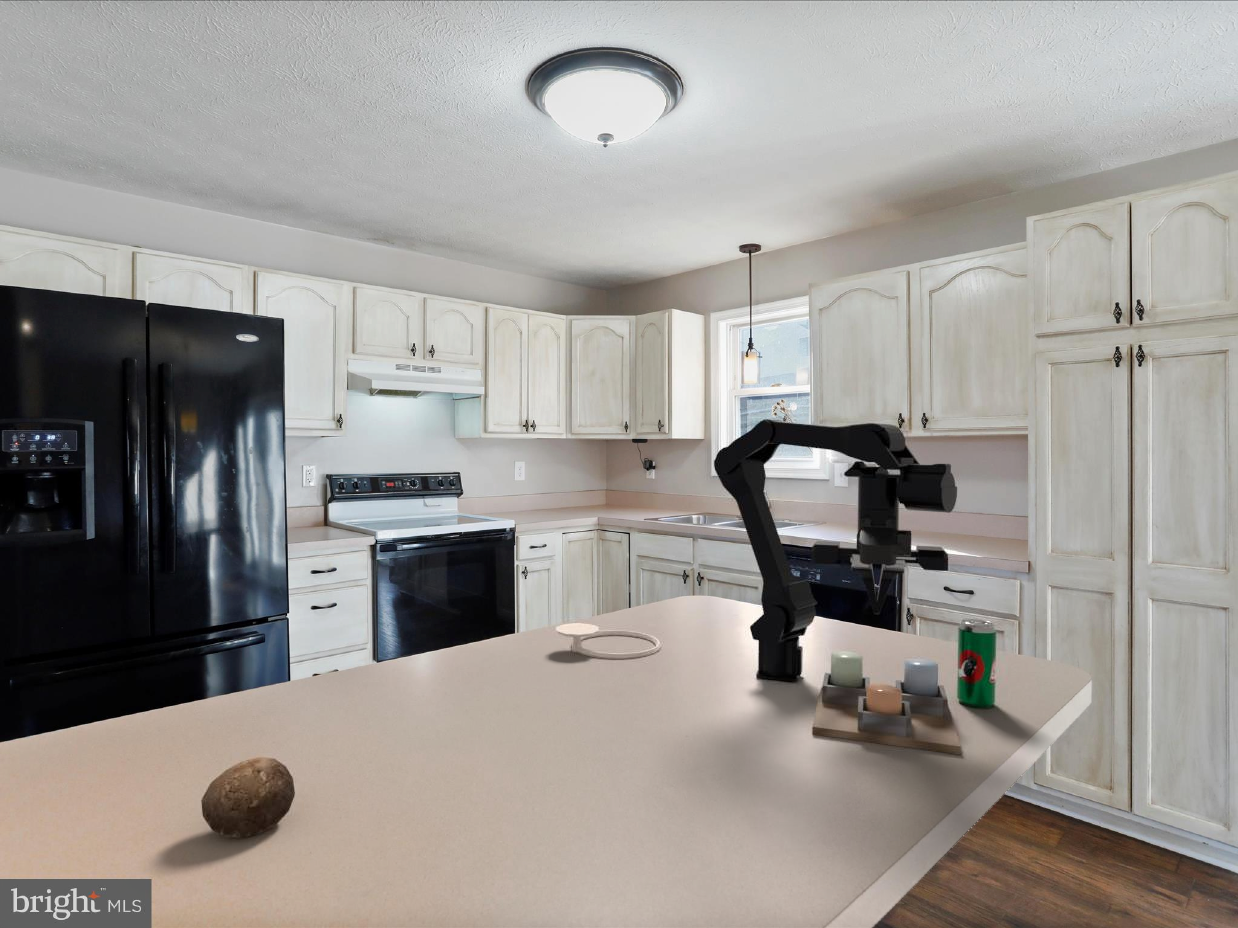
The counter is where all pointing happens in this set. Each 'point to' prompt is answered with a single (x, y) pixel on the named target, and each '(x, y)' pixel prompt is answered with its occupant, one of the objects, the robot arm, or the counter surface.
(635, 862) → the counter surface
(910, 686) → the slate-blue button
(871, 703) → the terracotta button
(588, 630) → the hand towel holder
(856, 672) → the sage button
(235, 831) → the brown speckled pebble
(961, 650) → the soda can
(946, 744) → the walnut button board
